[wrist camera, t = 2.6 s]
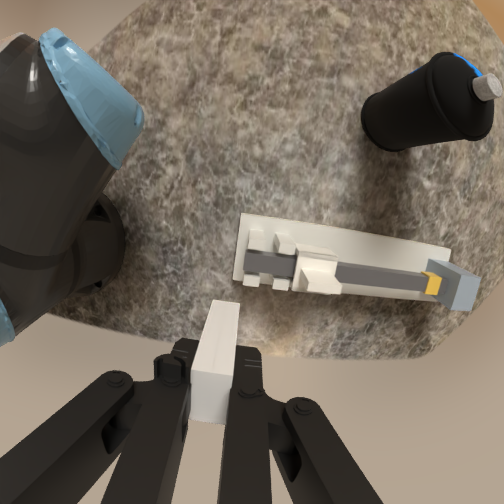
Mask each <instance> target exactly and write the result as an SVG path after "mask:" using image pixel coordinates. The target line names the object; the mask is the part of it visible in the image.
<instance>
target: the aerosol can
mask: <svg viewBox="0 0 504 504" xmlns="http://www.w3.org/2000/svg"><path fill="white" fill-rule="evenodd" d="M501 96H502V86H501V83H500V81H499V80H498V78H497V77H496V76H495V75H493V74H491V73H489V74H486V75H482V74H481V72H480V71H479V70H478V69H477V68H476V67H475V66H473V65H472V64H471V63H470V62H468V61H467V60H466V59H464V58H463V57H461V56H459V55H457V54H455V53H451V52H441V53H437V54H436V55H434V56H433V57H432V58H431V60H430V61H429V62H428V63H426V64H425V65H423V66H421V67H420V68H418V69H416V70H415V71H413V72H411V73H410V74H408V75H406V76H405V77H403V78H402V79H400V80H398V81H397V82H395V83H394V84H392V85H390V86H389V87H387V88H386V89H384V90H382V91H381V92H378V93H375V94H373V95H371V96H370V97H368V99H367V100H366V101H365V103H364V105H363V108H362V112H361V119H362V124H363V127H364V130H365V132H366V134H367V136H368V137H369V138H370V140H371V141H372V142H373V143H374V144H375V145H377V146H378V147H380V148H381V149H384V150H386V151H390V152H398V151H402V150H404V149H406V148H410V147H416V146H422V145H428V144H435V143H441V142H448V141H456V140H463V139H465V140H468V141H478V140H481V139H483V138H484V137H486V136H487V134H488V133H489V132H490V130H491V127H492V124H493V116H494V99H495V98H499V97H501Z"/></svg>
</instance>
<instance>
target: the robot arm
mask: <svg viewBox="0 0 504 504" xmlns="http://www.w3.org/2000/svg"><path fill="white" fill-rule="evenodd" d="M143 125H144V112H143V110H142V107H141V106H140V104H139V103H138V102H137V101H136V100H135V99H134V98H133V97H132V96H131V95H130V94H129V93H128V92H127V91H126V90H125V89H124V88H123V87H122V86H121V85H120V84H119V83H118V82H117V81H116V80H115V79H114V78H113V77H112V76H111V75H110V74H109V73H108V72H107V71H106V70H104V69H103V68H102V67H101V66H100V65H99V64H98V63H97V62H96V61H95V60H94V59H92V58H91V57H90V56H89V55H88V54H87V53H86V52H84V51H83V50H82V49H81V48H80V47H79V46H78V45H76V44H75V43H74V42H73V41H72V40H70V39H69V38H68V37H67V36H65V35H64V33H62V32H61V31H60V30H59V29H57V28H51V29H49V30H48V31H47V32H46V33H43V34H42V35H41V36H40V38H39V41H36V40H35V39H33V38H31V37H29V36H28V35H26V34H25V33H22V32H20V33H17V34H15V35H12V36H9V37H7V38H5V39H2V40H0V347H1V346H2V345H4V344H6V343H7V342H11V341H13V340H14V338H15V336H17V335H18V334H19V333H20V332H22V331H23V330H24V329H25V328H27V327H28V326H29V325H30V324H32V323H33V322H34V321H36V320H37V319H38V318H40V317H41V316H42V315H44V314H45V313H46V312H48V311H49V310H50V309H52V308H53V307H54V306H56V305H57V304H58V303H60V302H61V301H62V300H64V299H65V298H68V297H78V296H86V295H90V294H93V293H96V292H98V291H99V290H101V289H102V288H104V287H105V286H106V285H107V284H109V283H110V282H111V281H112V280H113V279H114V278H115V276H116V275H117V273H118V272H119V270H120V267H121V265H122V262H123V258H124V253H125V235H124V229H123V225H122V221H121V219H120V216H119V214H118V212H117V210H116V208H115V207H114V205H113V204H112V202H111V201H110V200H109V199H108V198H107V197H106V196H105V195H104V194H103V193H102V191H103V190H104V188H105V187H106V185H107V184H108V182H109V181H110V179H111V178H112V176H113V175H114V173H115V172H116V170H119V169H120V168H121V166H122V161H123V159H124V157H125V156H126V154H127V152H128V151H129V149H130V148H131V146H132V144H133V143H134V141H135V140H136V139H137V137H138V136H139V134H140V133H141V131H142V128H143ZM239 308H240V303H234V302H227V301H219V300H213V301H212V304H211V307H210V311H209V314H208V317H207V320H206V323H205V326H204V329H203V333H202V336H201V339H200V341H199V340H192V339H187V338H181V339H180V340H178V341H177V342H175V345H174V347H173V350H172V351H171V353H170V354H163V355H160V356H158V357H156V358H155V360H154V380H151V381H143V382H138V381H133V379H132V378H131V376H130V375H129V374H127V373H126V372H122V371H116V370H115V371H114V370H113V371H108V372H106V373H104V374H102V375H101V376H100V377H99V378H97V379H96V380H95V381H94V382H92V383H91V384H90V385H89V386H88V387H87V388H85V389H84V390H83V391H82V392H80V393H79V394H78V395H77V396H75V397H74V398H73V399H72V400H70V401H69V402H68V403H67V404H66V405H64V406H63V407H62V408H61V409H60V410H58V411H57V412H56V413H55V414H53V415H52V416H51V417H50V418H49V419H47V420H46V421H45V422H44V423H42V424H41V425H40V426H39V427H38V428H36V429H35V430H34V431H33V432H32V433H31V434H29V435H28V436H27V437H25V438H24V439H23V440H22V441H21V442H19V443H18V444H17V445H16V446H14V447H13V448H12V449H11V450H10V451H9V452H7V453H6V454H5V455H3V456H2V457H1V458H0V504H77V503H78V502H79V501H80V500H81V499H82V497H83V496H84V495H85V494H86V493H87V492H88V490H89V489H90V488H91V487H92V486H93V485H94V484H95V482H96V481H97V480H98V479H99V478H100V477H101V475H102V474H103V473H104V472H105V471H106V470H107V468H108V467H109V466H110V465H111V464H112V462H113V461H114V460H115V459H116V458H117V457H118V455H119V454H120V453H121V455H120V457H119V460H118V462H117V464H116V467H115V469H114V472H113V474H112V476H111V479H110V481H109V484H108V486H107V489H106V491H105V494H104V496H103V499H102V501H101V504H171V500H172V496H173V492H174V487H175V483H176V478H177V474H178V469H179V465H180V460H181V456H182V452H183V447H184V443H185V438H186V434H187V430H188V419H189V414H190V420H197V421H202V422H209V423H216V424H224V425H225V432H224V439H223V451H222V460H221V470H220V479H219V480H220V481H219V489H218V500H217V504H272V493H271V475H270V456H269V449H270V450H272V453H273V456H274V458H275V461H276V463H277V466H278V468H279V471H280V473H281V475H282V477H283V480H284V483H285V485H286V487H287V490H288V492H289V494H290V497H291V499H292V501H293V504H383V502H382V501H381V499H380V498H379V496H378V495H377V493H376V492H375V490H374V489H373V487H372V486H371V484H370V483H369V481H368V480H367V479H366V477H365V475H364V474H363V472H362V471H361V470H360V468H359V466H358V465H357V463H356V462H355V460H354V459H353V458H352V456H351V454H350V453H349V451H348V450H347V448H346V447H345V445H344V443H343V442H342V440H341V439H340V437H339V436H338V434H337V433H336V431H335V430H334V428H333V426H332V425H331V423H330V422H329V420H328V419H327V417H326V416H325V414H324V412H323V411H322V409H321V408H320V406H319V405H318V404H317V403H316V402H315V401H313V400H311V399H308V398H304V397H296V398H292V399H290V400H289V401H287V403H283V402H280V401H277V400H274V399H272V398H271V397H269V396H268V395H267V394H266V393H265V390H264V389H263V380H262V362H261V361H262V359H261V353H260V352H259V350H258V349H257V348H255V347H247V346H239V345H236V339H237V329H238V318H239Z"/></svg>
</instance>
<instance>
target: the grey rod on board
mask: <svg viewBox="0 0 504 504" xmlns="http://www.w3.org/2000/svg"><path fill="white" fill-rule="evenodd" d="M295 243H297V244H304V245H311V246H318V247H325V248H329V249H330V250H331V251H332V252H333V253H335V254H336V255H337V256H338V257H339V258H338V262H337V267H336V272H335V276H334V277H335V278H336V279H337V280H338V281H339V283H340V284H341V285H342V289H341V293H346V294H356V295H366V296H376V297H386V298H397V299H409V300H420V301H433V302H437V300H438V301H439V302H440V303H442V304H443V305H445V306H446V307H447V308H449V309H450V310H459V311H471V309H472V306H473V303H474V300H475V297H476V294H477V291H478V287H479V284H480V280H481V278H480V277H478V276H476V275H474V274H472V273H470V272H468V271H466V270H464V269H462V268H460V267H458V266H456V265H454V264H452V263H450V262H448V261H449V256H450V252H451V249H448V248H445V247H440V246H435V245H430V244H426V243H421V242H415V241H410V240H405V239H400V238H395V237H389V236H384V235H379V234H373V233H367V232H362V231H356V230H350V229H344V228H339V227H333V226H326V225H320V224H314V223H308V222H301V221H295V220H288V219H282V218H275V217H268V216H261V215H254V214H246V213H241V219H240V226H239V234H238V241H237V249H236V257H235V264H234V272H233V280H238V281H243V285H246V286H253V287H259V283H261V284H268V285H272V289H277V290H285V291H288V287H290V285H289V282H290V281H289V279H288V276H290V277H294V271H295V266H296V260H297V256H295V249H296V244H295ZM291 254H292V255H291Z"/></svg>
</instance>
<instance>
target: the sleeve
mask: <svg viewBox="0 0 504 504" xmlns="http://www.w3.org/2000/svg"><path fill="white" fill-rule="evenodd" d="M295 244H296V249H295V256H297V260H296V266H295V271H294V277H290V276H288V279H289V281H290V282H289V285H290V287H291V290H292V291H297V292H306V293H314V294H324V295H330V294H340V293H341V289H342V285H341V284H340V283H339V281H338V280H337V279H336V278H335V277H334V276H335V272H336V267H337V262H338V258H339V257H338V256H337V255H336V254H335V253H333V252H332V251H331V250H330V249H329V248H325V247H318V246H311V245H304V244H297V243H295ZM291 255H292V254H291Z"/></svg>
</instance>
